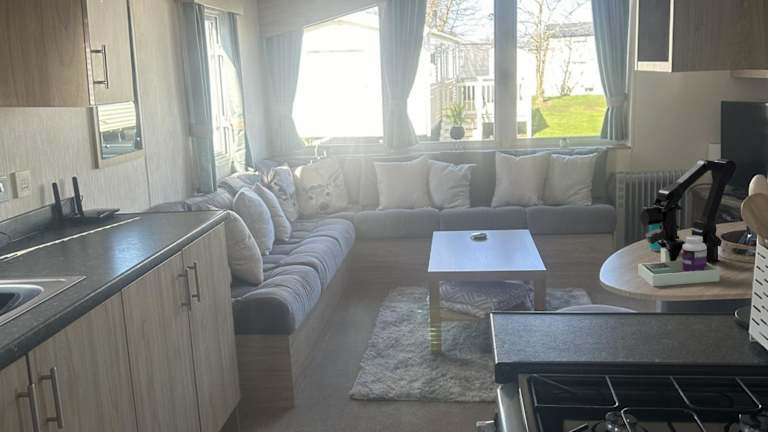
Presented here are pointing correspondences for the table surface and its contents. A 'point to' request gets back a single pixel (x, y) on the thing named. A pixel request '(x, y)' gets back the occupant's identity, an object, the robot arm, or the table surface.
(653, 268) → the tin
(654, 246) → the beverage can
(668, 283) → the tote
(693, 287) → the table surface
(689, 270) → the pill bottle
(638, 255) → the table surface
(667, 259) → the carton
